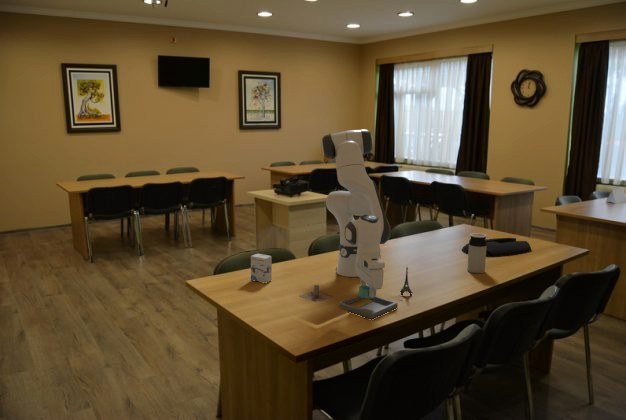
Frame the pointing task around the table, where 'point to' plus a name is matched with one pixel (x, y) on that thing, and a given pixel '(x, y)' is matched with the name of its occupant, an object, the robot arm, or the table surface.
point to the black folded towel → (503, 247)
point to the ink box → (261, 268)
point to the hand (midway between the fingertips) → (367, 293)
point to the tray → (370, 307)
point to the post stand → (316, 295)
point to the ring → (365, 291)
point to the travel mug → (477, 253)
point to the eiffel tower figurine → (406, 284)
